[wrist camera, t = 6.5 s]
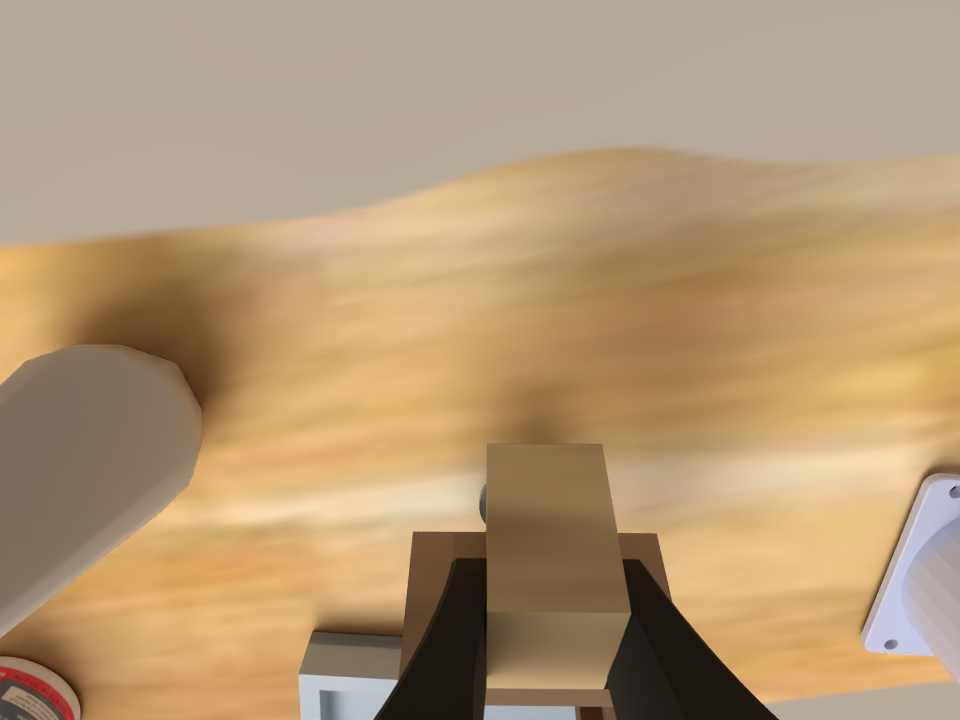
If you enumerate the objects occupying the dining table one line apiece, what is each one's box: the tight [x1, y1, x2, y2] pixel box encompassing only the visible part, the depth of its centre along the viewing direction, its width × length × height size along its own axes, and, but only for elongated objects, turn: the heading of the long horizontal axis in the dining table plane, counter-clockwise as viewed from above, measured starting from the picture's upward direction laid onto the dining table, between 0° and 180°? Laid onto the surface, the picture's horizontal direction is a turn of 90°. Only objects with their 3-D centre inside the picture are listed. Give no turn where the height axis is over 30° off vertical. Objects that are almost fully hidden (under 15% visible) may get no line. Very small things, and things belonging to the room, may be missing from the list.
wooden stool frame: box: [398, 444, 672, 720], centre depth 15 cm, size 9×6×4 cm, turn 0°
